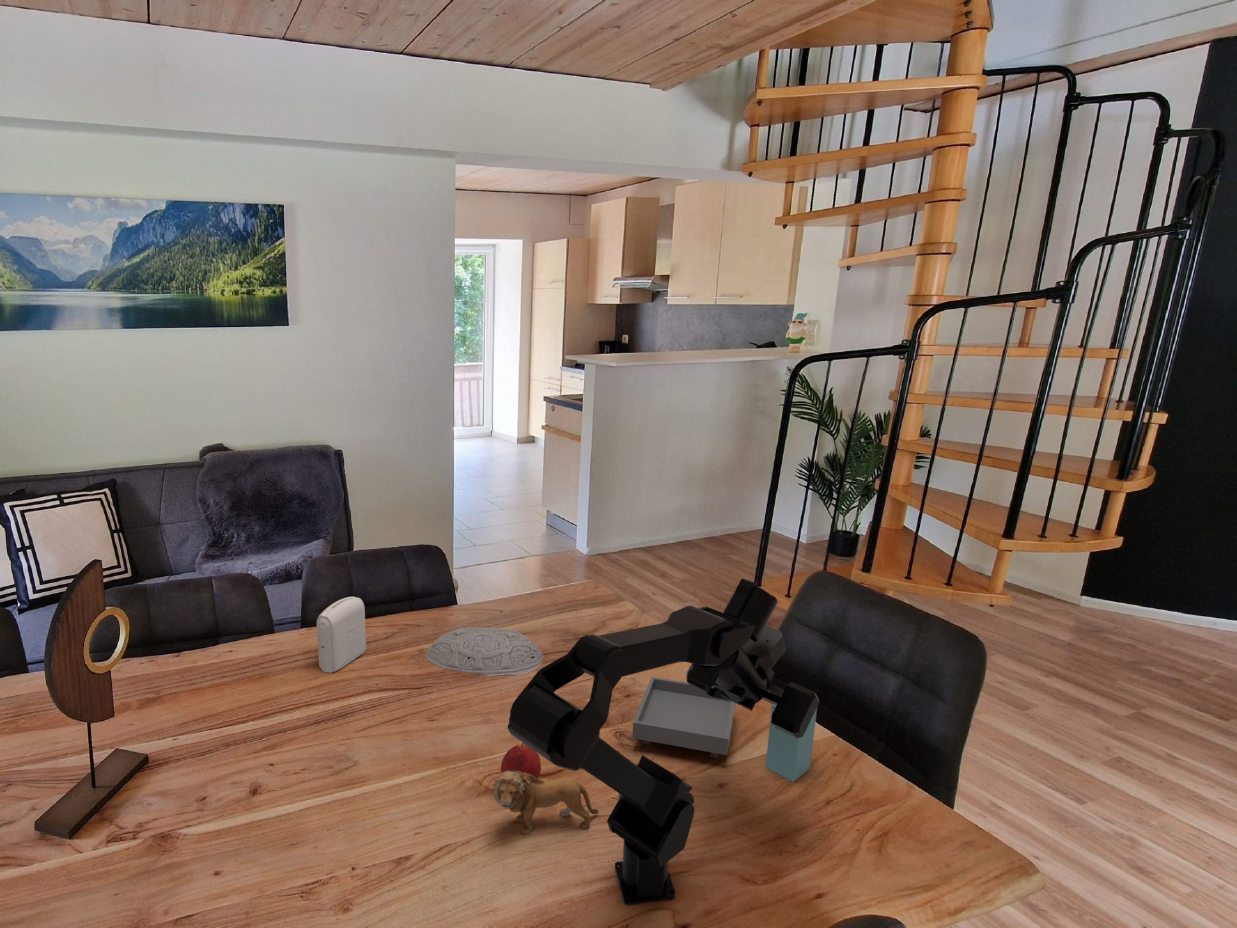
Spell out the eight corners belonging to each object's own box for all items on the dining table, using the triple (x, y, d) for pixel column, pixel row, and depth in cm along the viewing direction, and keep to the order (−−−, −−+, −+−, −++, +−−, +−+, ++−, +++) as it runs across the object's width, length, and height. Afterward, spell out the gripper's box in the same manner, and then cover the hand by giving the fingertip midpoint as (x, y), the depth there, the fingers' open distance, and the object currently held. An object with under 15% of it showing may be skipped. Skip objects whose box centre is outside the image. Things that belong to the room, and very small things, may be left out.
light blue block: (793, 781, 115) (800, 717, 112) (765, 767, 118) (771, 704, 116) (809, 768, 118) (817, 705, 116) (782, 754, 122) (789, 692, 119)
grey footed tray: (726, 766, 117) (728, 739, 116) (631, 748, 121) (633, 722, 120) (734, 714, 132) (737, 690, 131) (650, 700, 135) (651, 676, 134)
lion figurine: (497, 847, 99) (497, 787, 97) (490, 820, 104) (491, 763, 102) (603, 827, 103) (605, 769, 101) (592, 802, 108) (594, 747, 106)
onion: (533, 805, 107) (534, 756, 105) (494, 798, 108) (495, 749, 106) (545, 780, 113) (546, 733, 111) (508, 774, 114) (509, 727, 112)
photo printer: (334, 675, 140) (331, 613, 137) (315, 670, 141) (312, 609, 138) (369, 651, 149) (367, 593, 146) (352, 647, 150) (349, 589, 148)
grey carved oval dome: (541, 678, 141) (540, 644, 141) (411, 675, 143) (409, 641, 142) (553, 648, 157) (552, 617, 156) (435, 646, 158) (434, 615, 157)
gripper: (820, 638, 96) (850, 687, 106) (703, 594, 108) (741, 641, 119) (781, 716, 92) (816, 758, 103) (665, 661, 105) (707, 704, 115)
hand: (768, 711), depth 110 cm, fingers open, 9 cm apart
